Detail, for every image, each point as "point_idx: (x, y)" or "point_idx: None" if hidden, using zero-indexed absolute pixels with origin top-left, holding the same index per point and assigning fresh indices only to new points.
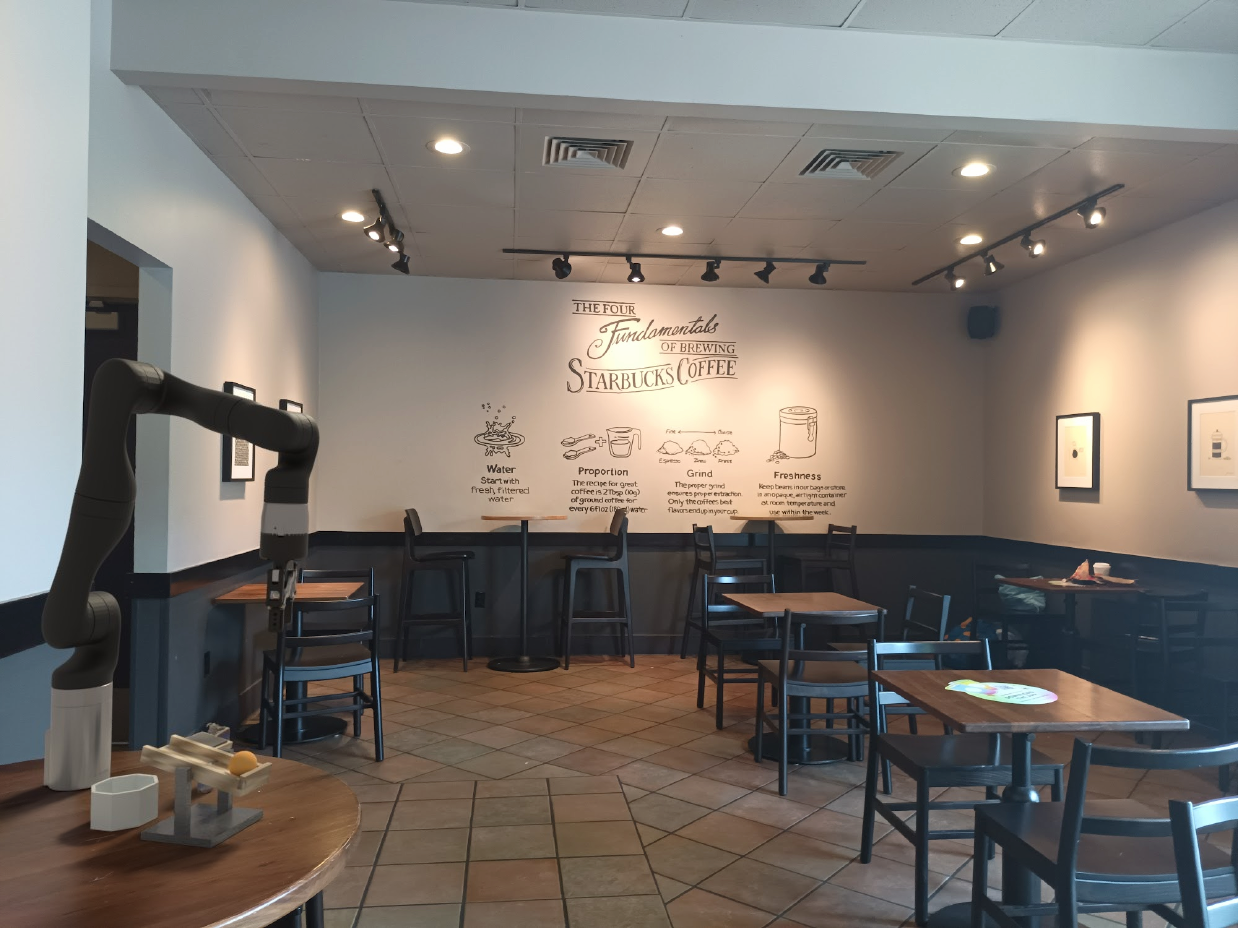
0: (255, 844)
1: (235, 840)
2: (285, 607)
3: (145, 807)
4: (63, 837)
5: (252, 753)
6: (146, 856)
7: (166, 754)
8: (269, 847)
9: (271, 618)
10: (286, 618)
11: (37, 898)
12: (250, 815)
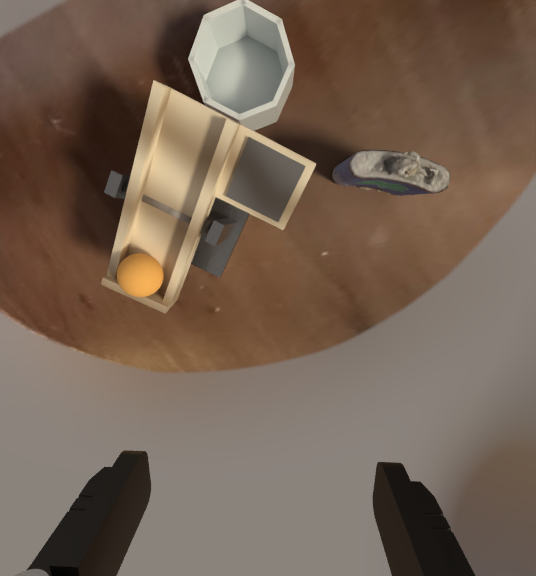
0: None
1: None
2: (403, 574)
3: None
4: (188, 16)
5: (140, 292)
6: (114, 161)
7: (139, 139)
8: (128, 297)
9: (64, 522)
10: (379, 511)
11: (6, 69)
12: (201, 265)
